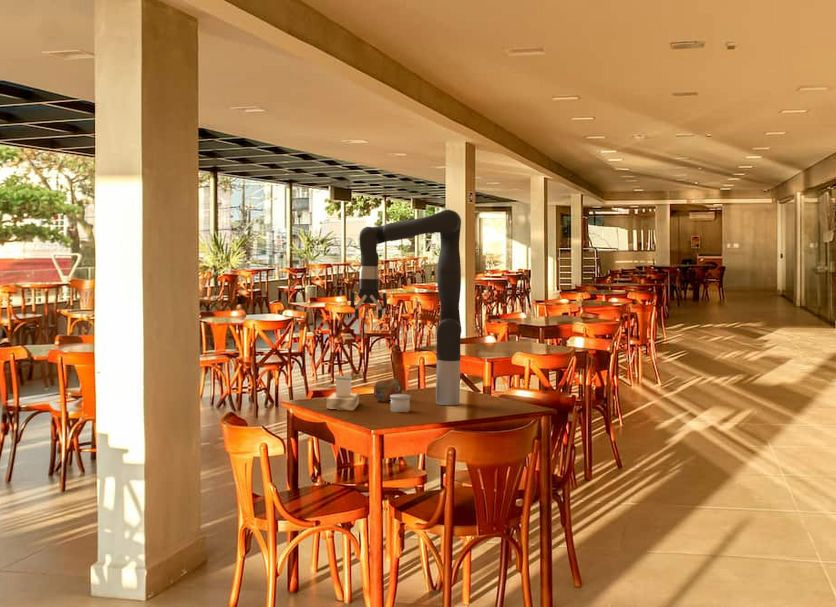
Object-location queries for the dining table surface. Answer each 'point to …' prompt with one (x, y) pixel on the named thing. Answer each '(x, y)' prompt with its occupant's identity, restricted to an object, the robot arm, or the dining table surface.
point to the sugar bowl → (400, 402)
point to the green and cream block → (343, 386)
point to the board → (343, 402)
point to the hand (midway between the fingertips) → (368, 319)
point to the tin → (386, 389)
